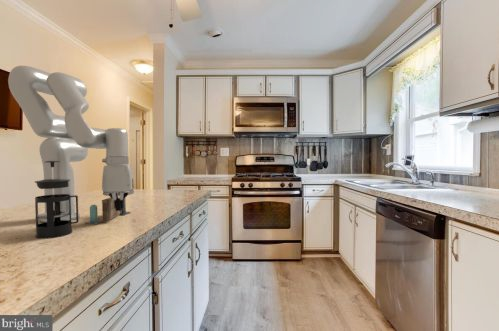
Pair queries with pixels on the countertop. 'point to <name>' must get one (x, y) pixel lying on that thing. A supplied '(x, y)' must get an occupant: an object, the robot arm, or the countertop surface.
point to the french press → (54, 209)
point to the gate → (109, 209)
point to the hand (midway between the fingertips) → (119, 210)
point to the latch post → (93, 215)
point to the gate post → (124, 207)
